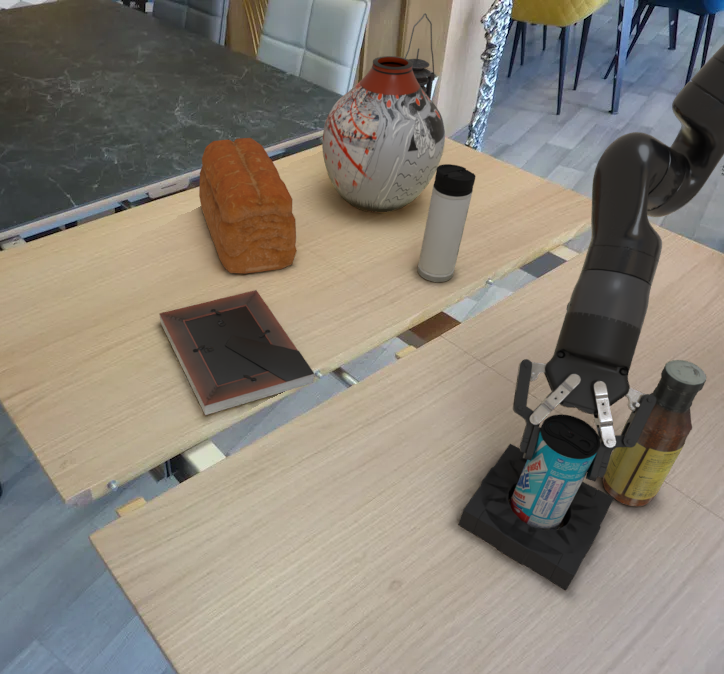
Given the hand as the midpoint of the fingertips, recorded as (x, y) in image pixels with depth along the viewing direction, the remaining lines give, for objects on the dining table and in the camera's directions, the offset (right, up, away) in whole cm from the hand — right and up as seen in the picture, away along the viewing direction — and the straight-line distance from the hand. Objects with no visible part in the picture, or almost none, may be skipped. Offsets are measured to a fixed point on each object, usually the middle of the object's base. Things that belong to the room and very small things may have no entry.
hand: (558, 469), depth 71 cm
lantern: (0, +58, +85) cm, 103 cm away
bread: (-36, +34, +56) cm, 75 cm away
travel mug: (-2, +25, +47) cm, 54 cm away
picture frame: (-37, +12, +30) cm, 49 cm away
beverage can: (0, -8, +9) cm, 12 cm away
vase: (-10, +42, +67) cm, 79 cm away
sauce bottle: (+13, -5, +12) cm, 19 cm away
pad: (+1, -8, +8) cm, 11 cm away
